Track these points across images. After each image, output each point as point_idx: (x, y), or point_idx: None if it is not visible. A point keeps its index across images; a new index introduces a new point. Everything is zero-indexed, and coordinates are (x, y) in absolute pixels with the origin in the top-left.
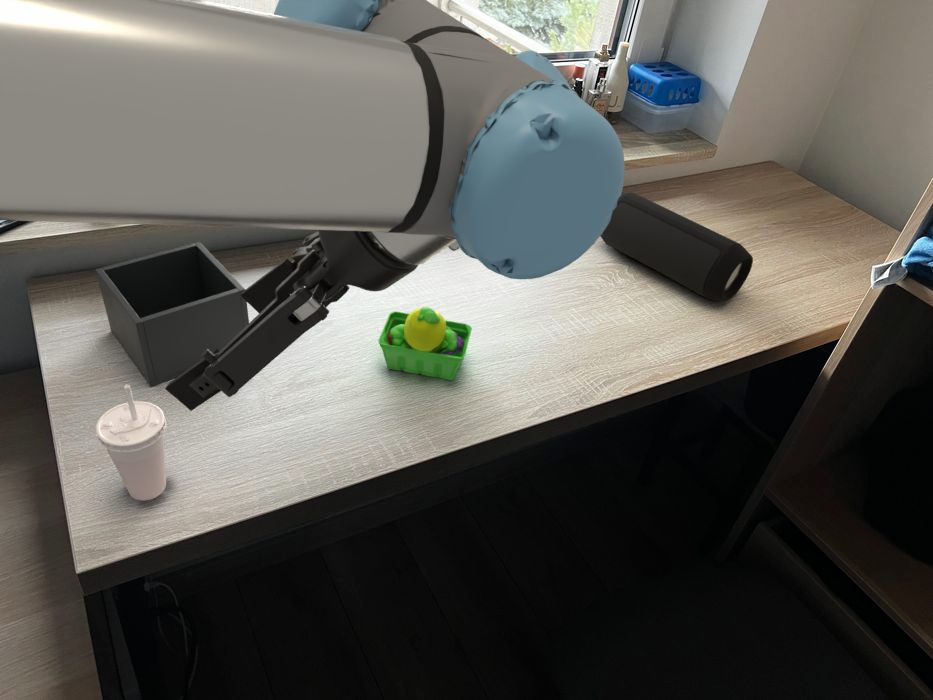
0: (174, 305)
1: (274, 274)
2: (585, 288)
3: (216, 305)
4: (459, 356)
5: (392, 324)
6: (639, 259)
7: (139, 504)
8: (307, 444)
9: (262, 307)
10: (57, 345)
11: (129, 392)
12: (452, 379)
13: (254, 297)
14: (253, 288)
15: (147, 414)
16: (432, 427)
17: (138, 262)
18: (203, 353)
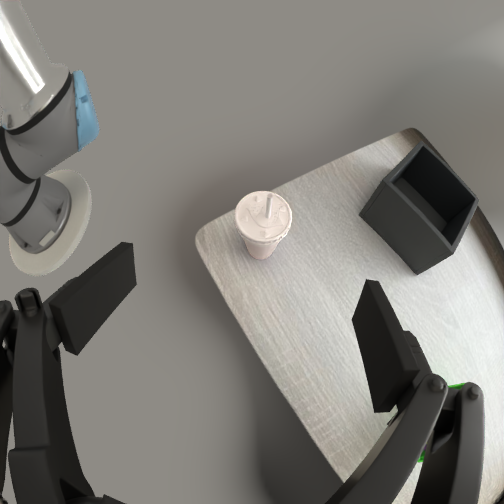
0: (433, 204)
1: (388, 344)
2: (488, 483)
3: (430, 235)
4: (421, 455)
5: (455, 387)
6: (502, 501)
7: (244, 247)
8: (324, 356)
9: (357, 321)
10: (373, 150)
11: (267, 200)
12: None
13: (365, 305)
14: (373, 301)
15: (274, 224)
16: (355, 448)
17: (442, 164)
18: (32, 289)
